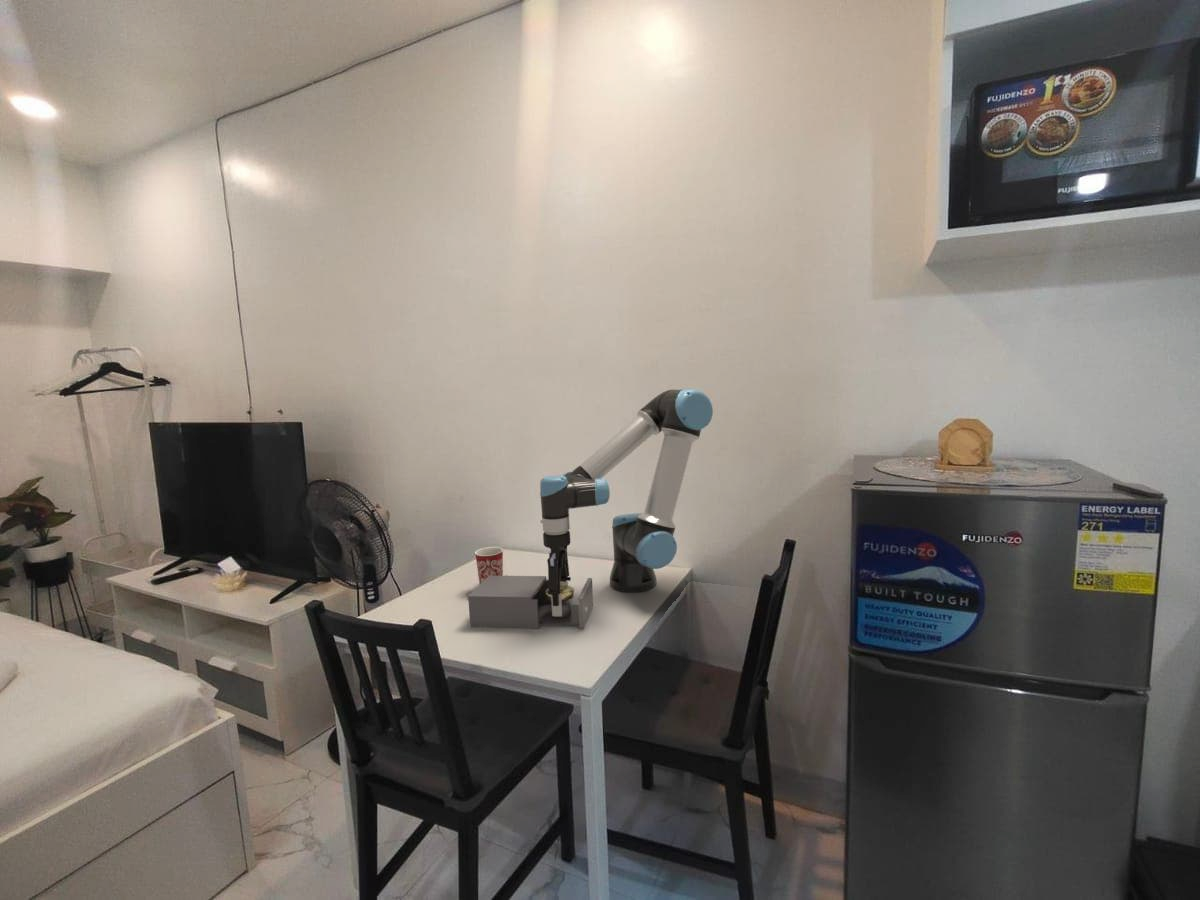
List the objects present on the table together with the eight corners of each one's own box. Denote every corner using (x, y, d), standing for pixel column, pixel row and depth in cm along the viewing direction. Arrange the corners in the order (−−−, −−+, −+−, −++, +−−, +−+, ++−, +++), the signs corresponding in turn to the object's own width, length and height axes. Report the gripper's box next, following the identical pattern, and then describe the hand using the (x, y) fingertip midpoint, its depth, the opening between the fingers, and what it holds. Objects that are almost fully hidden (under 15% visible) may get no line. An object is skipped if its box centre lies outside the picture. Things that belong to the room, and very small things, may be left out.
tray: (595, 605, 158) (594, 578, 157) (586, 628, 143) (584, 598, 142) (529, 604, 161) (527, 577, 160) (513, 626, 146) (511, 597, 145)
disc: (549, 590, 156) (549, 585, 156) (576, 590, 154) (576, 585, 154) (542, 601, 148) (542, 595, 148) (570, 601, 147) (570, 596, 146)
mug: (505, 594, 170) (502, 553, 169) (476, 597, 169) (473, 556, 168) (507, 580, 183) (504, 542, 181) (480, 583, 182) (477, 544, 180)
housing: (552, 604, 160) (551, 576, 159) (538, 629, 145) (536, 597, 144) (491, 603, 164) (488, 575, 163) (470, 627, 148) (468, 596, 147)
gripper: (552, 521, 160) (556, 594, 162) (533, 542, 139) (538, 625, 142) (576, 521, 158) (580, 595, 161) (561, 542, 138) (565, 625, 141)
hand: (560, 609), depth 152 cm, fingers closed on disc, 8 cm apart
